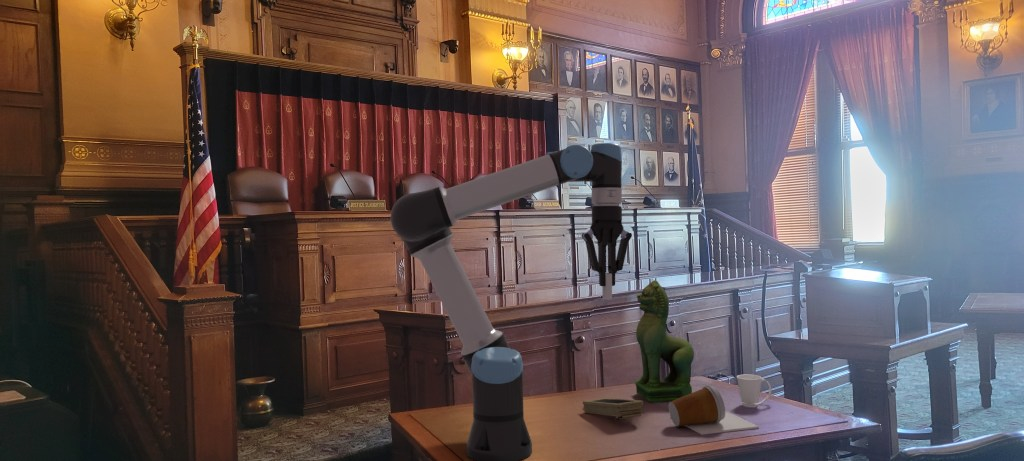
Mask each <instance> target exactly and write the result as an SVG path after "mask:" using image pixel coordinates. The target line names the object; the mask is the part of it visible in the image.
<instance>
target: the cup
mask: <svg viewBox="0 0 1024 461" xmlns="http://www.w3.org/2000/svg"><path fill="white" fill-rule="evenodd" d="M736 380H737V385H738V390H739V391H738V392H739V393H738V394H739V396H740V399H741V402H742V403H741V406H742V407H746V408H757V407H758V406H760V405H762V404H763V403H765V402H766V401H767V400H768V399H769V398H770V397H771V395H772V391H773V390H772V387H771V386H772V385H771V382H769V381H768V379H765V378H762V376H761V375H757V374H747V373H746V374H744V373H743V374H739V375H736ZM763 382H766V383H767V384H768V385H767V386H768V389H769V391H768V394H767V395H766V396H765V397H764V398H763V399H762V400H761V401H759V399H760V393H761V386H762V383H763Z"/></svg>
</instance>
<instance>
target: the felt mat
mask: <svg viewBox="0 0 1024 461" xmlns="http://www.w3.org/2000/svg"><path fill="white" fill-rule="evenodd" d="M684 427H686V428H688V429H690V430H692V431H694V432H695V433H697V434H699V435H700V436H702V435H703V436H704V435H710V434H721V433H728V432H730V433H731V432H737V431H746V430H747V431H748V430H754V429H755V430H756V429H759V425H757V424H754V423H752V422H750V421H748V420H746V419H743V418H741V417H739V416H737V415H735V414H733V413H730V412H729V411H726V410H725V417H724V419H722V420H721V421H720V422H719V423H716V422H708V423H700V424H693V425H685V426H684Z"/></svg>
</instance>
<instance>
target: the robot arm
mask: <svg viewBox="0 0 1024 461" xmlns="http://www.w3.org/2000/svg"><path fill="white" fill-rule="evenodd" d="M622 165H623V161H622V148H621V146H620V145H619V144H618V143H615V142H601V143H593V144H592V145H591V148H590V150H589V148H587V147H586V146H584V145H581V144H572V145H569V146H567V147H566V148H563V149H560V150H557V151H556V150H555V151H549V152H548V151H547V152H546V153H545V155H543V156H539V157H537V158H534V159H531V160H528V161H524V162H522V163H519V164H517V165H513V166H510V167H507V168H504V169H501V170H498V171H495V172H492V173H489V174H486V175H483V176H481V177H477V178H474V179H471V180H469V181H466V182H462V183H460V184H457V185H454V186H451V187H448V188H445V187H442V186H438V187H435V188H431V189H428V190H423V191H417V192H410V193H407V194H405V195H403V196H400V197H399V198H397V200H396V202H395V203H394V204H393V206H392V208H391V212H390V222H391V227H392V229H393V230H394V232H395V233H396V234H397V235H398V236H399V237H400V238H401V239H402V241H403V244H404V245H405V247H406V249H407V251H408V252H409V254H410V257H414V258H416V259H418V260H419V261H420V262H421V266H422V267H423V268H424V271H425V273H426V274H427V277H428V278H429V280H430V283H431V284H432V286H433V288H434V290H435V292H436V294H437V297H438V298H439V300H440V302H441V304H442V306H443V308H444V310H445V311H446V314H447V316H448V318H449V320H450V321H451V324H452V326H453V328H454V330H455V332H456V334H457V335H458V337H459V339H460V341H461V344H462V348H461V352H460V355H461V357H462V359H463V361H464V363H465V365H466V366H467V369H468V370H469V372H470V375H471V380H472V381H471V382H472V384H471V385H472V414H473V416H472V417H473V419H472V420H473V421H472V423H471V428H470V431H469V435H468V438H467V441H466V456H467V457H468V458H469V459H471V460H473V461H521V460H524V459H527V458H528V457H530V456H531V455H532V453H533V441H532V439H531V435H530V432H529V430H528V427H527V424H526V422H525V417H524V385H523V384H524V383H523V382H524V381H523V371H524V362H523V359H522V357H523V356H522V355H521V353H520V352H519V351H518V350H516V349H514V348H511V347H510V344H509V343H508V341H507V339H506V337H505V335H504V333H503V332H502V331H500V330H498V329H495V328H494V326H493V325H492V323H491V321H490V319H489V317H488V315H487V313H486V311H485V309H484V307H483V305H482V303H481V301H480V299H479V297H478V295H477V293H476V290H475V289H474V288H473V285H472V283H471V281H470V280H469V277H468V275H467V274H466V271H465V270H464V267H463V265H462V264H461V262H460V260H459V258H458V256H457V254H456V250H454V247H453V245H452V240H453V235H454V234H453V232H452V230H451V227H454V226H455V224H456V223H457V221H458V220H461V219H464V218H466V217H470V216H472V215H475V214H478V213H481V212H485V211H488V210H490V209H492V208H493V209H494V208H495V207H499V206H501V205H502V206H503V205H505V204H507V203H510V202H513V201H516V200H518V199H522V198H525V197H527V196H530V195H533V194H536V193H539V192H543V191H545V190H548V189H550V188H553V187H556V186H560V185H563V184H567V183H571V182H574V183H576V182H578V183H579V182H582V183H583V182H586V183H589V182H591V204H592V205H593V206H592V207H591V225H590V227H589V229H588V230H587V231H586V232H585V233H583V232H582V234H581V238H582V239H583V241H584V242H585V246H586V250H587V255H588V259H589V264H590V266H591V270H592V271H594V272H597V273H598V284H599V286H600V287H602V299H603V300H604V301H605V300H606V301H607V300H609V301H610V300H611V301H612V300H613V287H614V286H616V273H618V272H620V271H622V270H623V267H624V263H625V260H626V255H627V250H628V245H629V242H630V241H631V238H632V237H633V234H632V233H631V232H628V231H627V230H625V229H624V225H623V223H622V222H623V221H622V220H623V208H622V206H620V204H621V205H622V200H623V192H622V191H623V189H622V187H623V186H622V180H623V179H622V174H623V173H622V169H623V168H622ZM619 237H620V240H619V244H618V250H617V240H618V239H619ZM594 238H595V239H596V240H597V252H598V253H597V252H596V247H595V243H594V241H593V239H594ZM597 254H598V256H597Z"/></svg>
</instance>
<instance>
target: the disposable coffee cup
mask: <svg viewBox="0 0 1024 461" xmlns="http://www.w3.org/2000/svg"><path fill="white" fill-rule="evenodd" d="M725 411H726V406H725V403H724V400H723V397H722V395H721V392H720V391H719V389H718V388H716V387H715V386H713V385H712V386H711V385H705V386H704V387H702V388H700V389H698V390H695V391H692V393H691V394H688V395H686V396H683V397H681V398H678V399H676V400H673V401H670V402H669V403H668V412H669V416H670V419H671V422H672V423H673V424H674V425H675V427H682V426H683V427H686V426H685V425H693V424H700V423H708V422H716V423H719V422H720V421H721V420H722V419H724V417H725Z"/></svg>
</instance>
